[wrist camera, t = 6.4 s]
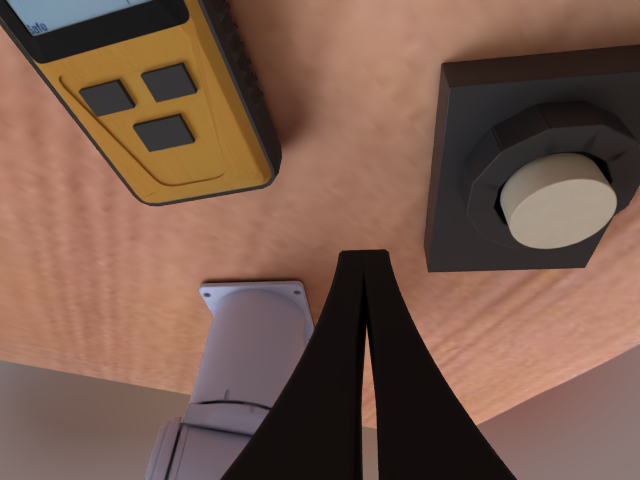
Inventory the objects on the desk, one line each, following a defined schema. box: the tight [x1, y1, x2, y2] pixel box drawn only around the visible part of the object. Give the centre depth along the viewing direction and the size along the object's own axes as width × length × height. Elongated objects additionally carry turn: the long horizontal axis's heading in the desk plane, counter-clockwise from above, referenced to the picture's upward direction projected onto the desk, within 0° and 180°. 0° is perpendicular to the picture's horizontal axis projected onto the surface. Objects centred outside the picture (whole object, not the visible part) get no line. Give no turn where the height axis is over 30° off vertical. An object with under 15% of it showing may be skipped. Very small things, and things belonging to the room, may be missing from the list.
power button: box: [500, 153, 617, 249], centre depth 17 cm, size 4×4×2 cm
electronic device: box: [0, 0, 282, 206], centre depth 16 cm, size 8×16×3 cm, turn 15°
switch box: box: [424, 45, 640, 272], centre depth 20 cm, size 12×9×4 cm
